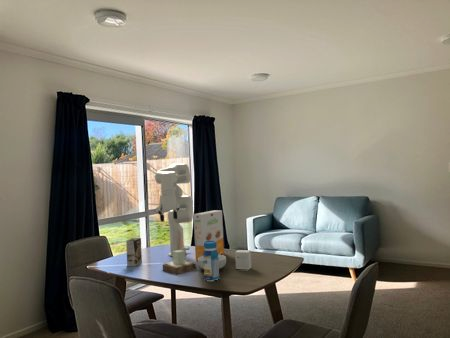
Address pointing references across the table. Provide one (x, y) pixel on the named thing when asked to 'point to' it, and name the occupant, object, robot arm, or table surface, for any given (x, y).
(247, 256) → the small box
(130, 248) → the coffee box
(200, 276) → the table surface
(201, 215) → the cereal box
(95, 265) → the table surface
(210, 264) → the beverage bottle
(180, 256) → the block
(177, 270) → the base
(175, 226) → the robot arm
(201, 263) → the cereal bowl
